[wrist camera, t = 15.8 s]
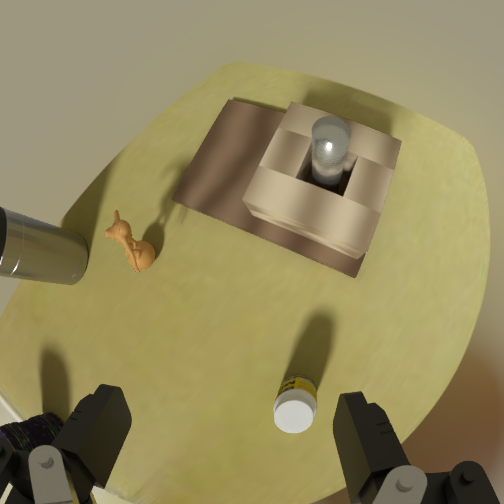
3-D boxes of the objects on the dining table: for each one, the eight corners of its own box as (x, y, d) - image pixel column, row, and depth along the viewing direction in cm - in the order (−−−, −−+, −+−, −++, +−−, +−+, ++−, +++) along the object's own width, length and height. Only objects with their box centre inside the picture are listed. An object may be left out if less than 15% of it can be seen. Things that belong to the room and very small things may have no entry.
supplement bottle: (293, 367, 33) (289, 387, 25) (323, 387, 32) (327, 411, 24) (271, 395, 33) (260, 420, 25) (300, 414, 32) (297, 444, 24)
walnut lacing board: (176, 202, 40) (172, 199, 39) (230, 104, 41) (228, 99, 40) (354, 278, 34) (356, 277, 32) (395, 158, 35) (397, 153, 33)
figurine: (129, 240, 41) (75, 221, 29) (159, 218, 40) (110, 191, 29) (149, 289, 39) (94, 283, 27) (182, 267, 38) (133, 254, 27)
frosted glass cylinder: (307, 194, 35) (305, 140, 22) (317, 171, 35) (319, 111, 23) (332, 204, 34) (343, 154, 22) (341, 181, 34) (355, 124, 22)
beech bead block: (252, 215, 36) (241, 199, 30) (294, 127, 37) (291, 101, 31) (357, 259, 33) (367, 251, 27) (390, 163, 34) (401, 141, 28)
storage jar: (76, 461, 37) (27, 485, 22) (46, 439, 39) (-1, 456, 24) (72, 425, 38) (16, 446, 23) (42, 403, 40) (-11, 416, 26)
